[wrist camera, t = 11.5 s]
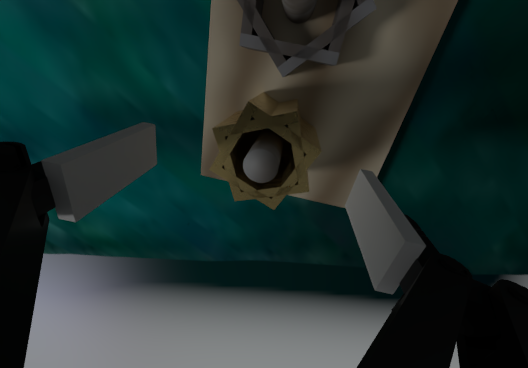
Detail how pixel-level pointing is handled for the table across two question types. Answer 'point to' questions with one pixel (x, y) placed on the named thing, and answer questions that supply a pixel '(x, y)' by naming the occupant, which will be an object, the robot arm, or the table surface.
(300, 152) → the brass gear
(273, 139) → the gear board
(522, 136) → the table surface
